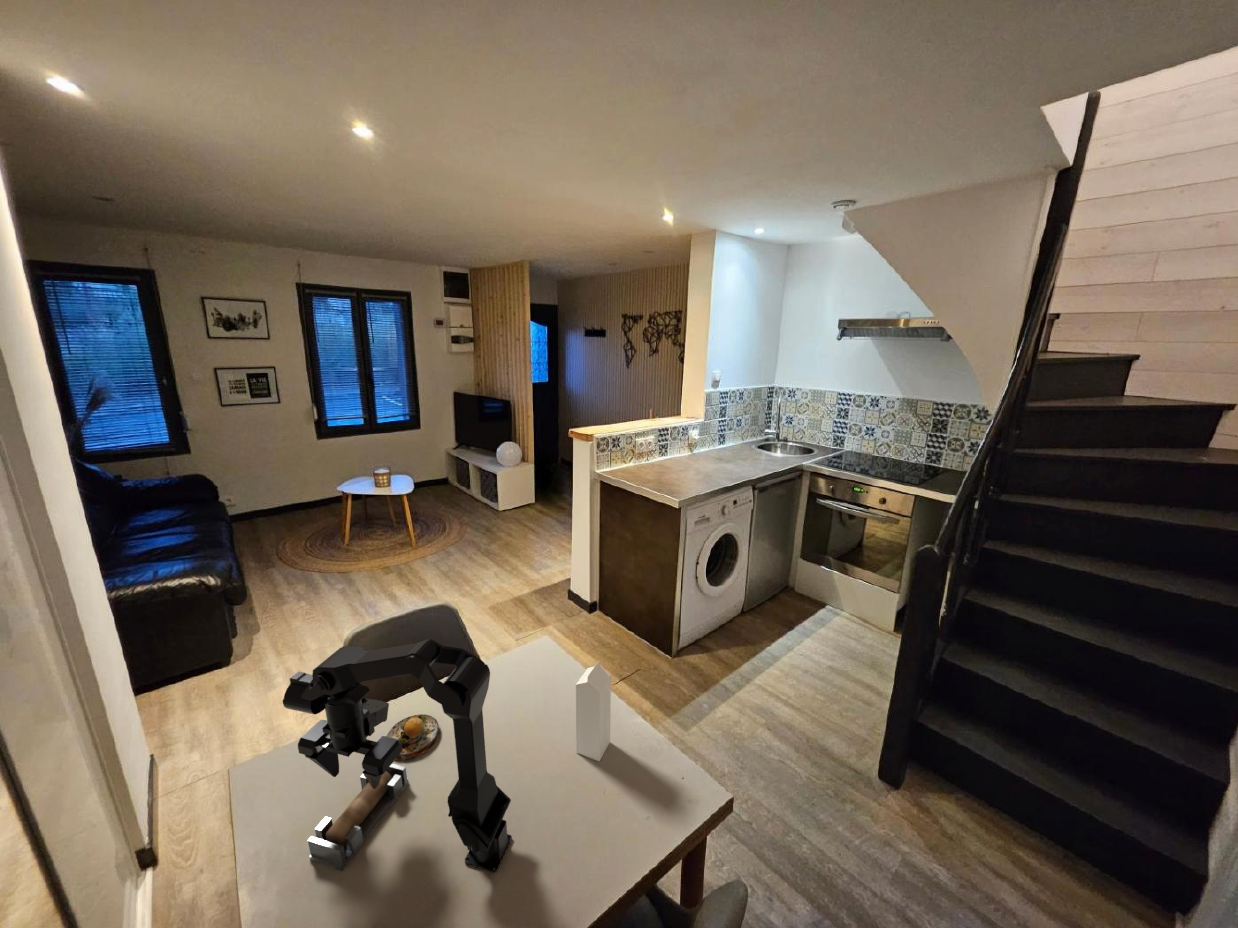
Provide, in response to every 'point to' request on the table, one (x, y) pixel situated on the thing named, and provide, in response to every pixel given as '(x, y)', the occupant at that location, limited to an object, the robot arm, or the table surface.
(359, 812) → the cylinder
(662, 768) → the table surface
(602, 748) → the milk
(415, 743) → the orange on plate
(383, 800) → the cradle
